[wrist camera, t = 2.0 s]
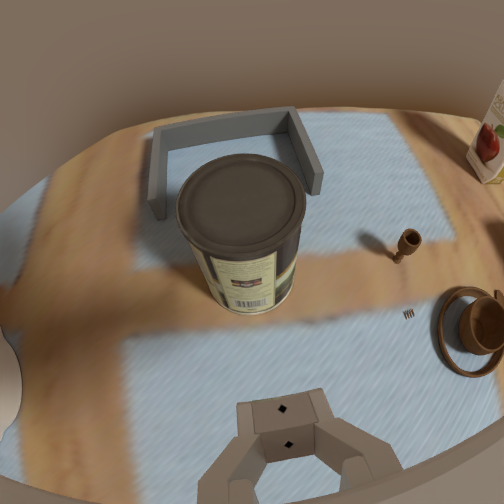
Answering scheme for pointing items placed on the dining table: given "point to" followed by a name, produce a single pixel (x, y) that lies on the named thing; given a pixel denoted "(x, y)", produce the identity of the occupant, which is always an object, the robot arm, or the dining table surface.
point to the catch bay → (226, 130)
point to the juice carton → (490, 143)
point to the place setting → (467, 316)
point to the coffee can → (244, 229)
